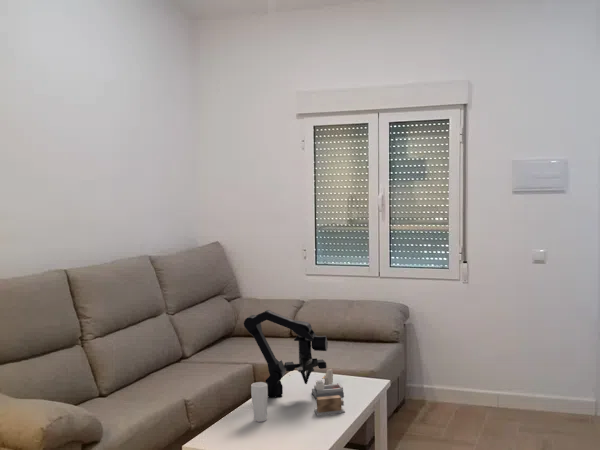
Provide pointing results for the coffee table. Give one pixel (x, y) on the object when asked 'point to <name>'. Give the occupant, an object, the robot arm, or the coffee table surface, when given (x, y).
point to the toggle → (319, 385)
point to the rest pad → (329, 412)
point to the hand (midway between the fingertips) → (305, 383)
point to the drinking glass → (259, 400)
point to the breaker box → (329, 391)
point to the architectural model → (328, 377)
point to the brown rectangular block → (329, 403)
